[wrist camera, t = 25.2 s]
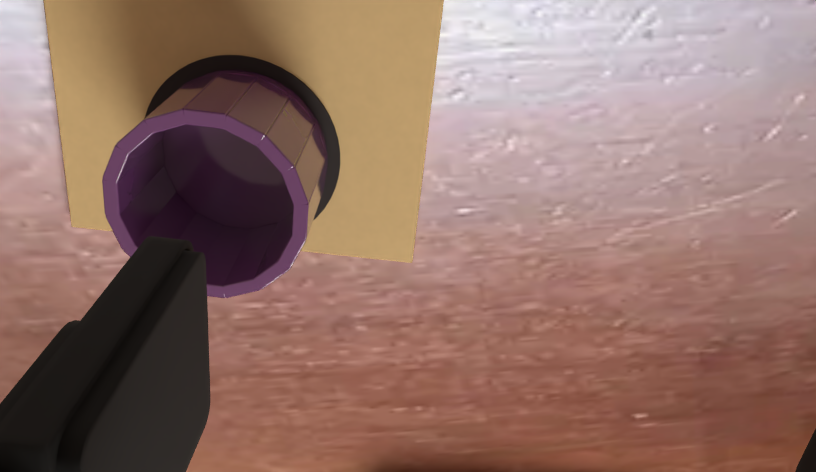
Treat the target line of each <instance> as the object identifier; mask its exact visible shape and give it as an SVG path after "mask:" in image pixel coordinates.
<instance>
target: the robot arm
mask: <svg viewBox="0 0 816 472" xmlns="http://www.w3.org/2000/svg"><path fill="white" fill-rule="evenodd" d="M209 409H210V374H209V342H208V311H207V280H206V259H205V255H204V253H203V252H195V251H194V250H193V246H192V243H191V242H190V241H188V240H180V239H171V238H163V237H154V236H148V237H147V238H146V239H145V240H144V241H143V242H142V244H141V245H140V246H139V247H138V249H137V250H136V251H135V252H134V254H133V255H132V256H131V257H130V259H129V260H128V261H127V263H126V264H125V265H124V266H123V268H122V269H121V270H120V271H119V273H118V274H117V275H116V277H115V278H114V279H113V280H112V282H111V283H110V284H109V285H108V287H107V288H106V289H105V290H104V292H103V293H102V294H101V296H100V297H99V298H98V299H97V301H96V302H95V303H94V304H93V306H92V307H91V308H90V310H89V311H88V312H87V313H86V315H85V316H84V317H83V318H82V320H81V321H77V320H75V321H72V322H68V323H67V324H66V325H65V326H64V327H63V328H62V329H61V330H60V331H59V333H58V334H57V335H56V336H55V337H54V339H53V340H52V341H51V342H50V344H49V345H48V346H47V347H46V348H45V350H44V351H43V352H42V353H41V355H40V356H39V357H38V358H37V360H36V361H35V362H34V363H33V364H32V366H31V367H30V368H29V369H28V371H27V372H26V373H25V374H24V375H23V377H22V378H21V379H20V380H19V382H18V383H17V384H16V385H15V387H14V388H13V389H12V390H11V391H10V393H9V394H8V395H7V396H6V398H5V399H4V400H3V401H2V402H1V404H0V472H186V470H187V468H188V465H189V463H190V460H191V458H192V456H193V453H194V451H195V449H196V446H197V444H198V442H199V439H200V437H201V435H202V432H203V430H204V428H205V425H206V422H207V419H208V414H209ZM796 472H816V429H815V431H814V433H813V435H812V437H811V439H810V441H809V443H808V445H807V447H806V449H805V451H804V454H803V456H802V458H801V460H800V462H799V464H798V466H797V469H796Z"/></svg>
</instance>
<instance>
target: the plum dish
mask: <svg viewBox="0 0 816 472" xmlns="http://www.w3.org/2000/svg"><path fill="white" fill-rule="evenodd" d="M327 169H328V153H327V145H326V142H325V138H324V134H323V132H322V130H321V127H320V125H319V123H318V121H317V119H316V118H315V116H314V114H313V113H312V111H311V110H310V109H309V108H308V106H307V105H306V104H305V103H304V102H303V101H302V100H301V99H300V98H299V97H298V96H297V95H296V94H295V93H294V92H292V91H291V90H290V89H289V88H287V87H286V86H284V85H282V84H281V83H279V82H277V81H275V80H273V79H271V78H269V77H267V76H264V75H261V74H257V73H254V72H249V71H243V70H220V71H215V72H210V73H207V74H204V75H201V76H198V77H196V78H194V79H193V80H191V81H188V82H187V83H185V84H184V85H183V86H181V87H180V88H179V89H178V90H177V91H176V92H175V93H173V94H172V95H171V96H170V97H169V98H168V99H166V100H165V101H164V102H163V103H162V104H161V105H160V106H158V107H157V108H156V109H155V110H154V111H153V112H151V113H150V114H149V115H148V116H147V117H146V118H145V119H143V120H142V121H141V122H140V123H139V124H138V125H136V126H135V127H134V128H133V129H132V130H131V131H130V132H128V133H127V134H126V135H125V136H124V137H123V138H122V139H120V140H119V141H118V142H117V143H116V145H115V146H114V149H113V151H112V154H111V156H110V159H109V161H108V164H107V166H106V169H105V172H104V174H103V179H102V185H103V198H104V210H105V215H106V219H107V221H108V223H109V225H110V227H111V228H112V230H113V232H114V234H115V236H116V238H117V240H118V242H119V244H120V246H121V248H122V249H124V252H125V253H126V254H128V255H129V256H130V257H131V256H132V255H133V254H134V252H135V251H136V250H137V249H138V247H139V246H140V245H141V244H142V242H143V241H144V240H145V239H146V238H147V237H148V236H154V237H163V238H171V239H180V240H188V241H190V242H191V243H192V246H193V250H194V251H195V252H203V253H204V255H205V259H206V280H207V296H211V297H220V298H225V297H226V298H229V297H233V296H237V295H242V294H246V293H250V292H255V291H259V290H261V289H263V288H265V287H266V286H268V285H269V284H270V283H272V282H273V281H275V280H276V279H277V278H279V277H280V276H282V275H283V274H284V273H286V272H287V271H289V269H290V268H291V267H292V265H293V263H294V261H295V260H296V258H297V256H298V254H299V253H300V251H301V249H302V247H303V245H304V244H305V242H306V240H307V237H308V234H309V231H310V228H311V225H312V222H313V219H314V216H315V214H316V211H317V208H318V205H319V202H320V199H321V196H322V193H323V190H324V187H325V179H326V176H327Z"/></svg>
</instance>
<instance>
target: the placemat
mask: <svg viewBox="0 0 816 472" xmlns="http://www.w3.org/2000/svg"><path fill="white" fill-rule="evenodd" d="M443 2H444V0H44V8H45V16H46V24H47V32H48V40H49V48H50V56H51V64H52V72H53V80H54V88H55V96H56V104H57V112H58V121H59V129H60V137H61V145H62V153H63V161H64V169H65V177H66V185H67V193H68V201H69V209H70V217H71V225H72V227H78V228H88V229H97V230H107V231H113V230H112V228H111V227H110V225H109V223H108V221H107V219H106V215H105V210H104V198H103V185H102V179H103V174H104V172H105V169H106V166H107V164H108V161H109V159H110V156H111V154H112V151H113V149H114V146H115V145H116V143H117V142H118V141H119V140H120V139H122V138H123V137H124V136H125V135H126V134H127V133H128V132H130V131H131V130H132V129H133V128H134V127H135V126H136V125H138V124H139V123H140V122H141V121H142V120H143V119H145V118H146V117H147V116H148V115H149V114H150V113H151V112H153V111H154V110H155V109H156V108H157V107H158V106H160V105H161V104H162V103H163V102H164V101H165V100H166V99H168V98H169V97H170V96H171V95H172V94H173V93H175V92H176V91H177V90H178V89H179V88H180V87H181V86H183V85H184V84H185V83H187V82H188V81H191V80H193V79H194V78H196V77H198V76H201V75H204V74H207V73H210V72H215V71H220V70H243V71H249V72H254V73H257V74H261V75H264V76H267V77H269V78H271V79H273V80H275V81H277V82H279V83H281V84H282V85H284V86H286V87H287V88H289V89H290V90H291V91H292V92H294V93H295V94H296V95H297V96H298V97H299V98H300V99H301V100H302V101H303V102H304V103H305V104H306V105H307V106H308V108H309V109H310V110H311V111H312V113H313V114H314V116H315V118H316V119H317V121H318V123H319V125H320V127H321V130H322V132H323V134H324V138H325V142H326V145H327V153H328V169H327V176H326V179H325V187H324V190H323V193H322V196H321V199H320V202H319V205H318V208H317V211H316V214H315V216H314V219H313V222H312V225H311V228H310V231H309V234H308V237H307V240H306V242H305V244H304V245H303V247H302V249H301V251H305V252H314V253H324V254H333V255H343V256H352V257H362V258H371V259H381V260H390V261H400V262H409V263H412V261H413V252H414V244H415V236H416V227H417V219H418V211H419V202H420V194H421V186H422V177H423V169H424V160H425V152H426V144H427V135H428V127H429V119H430V110H431V102H432V94H433V85H434V77H435V69H436V60H437V52H438V44H439V35H440V27H441V19H442V10H443Z"/></svg>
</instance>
